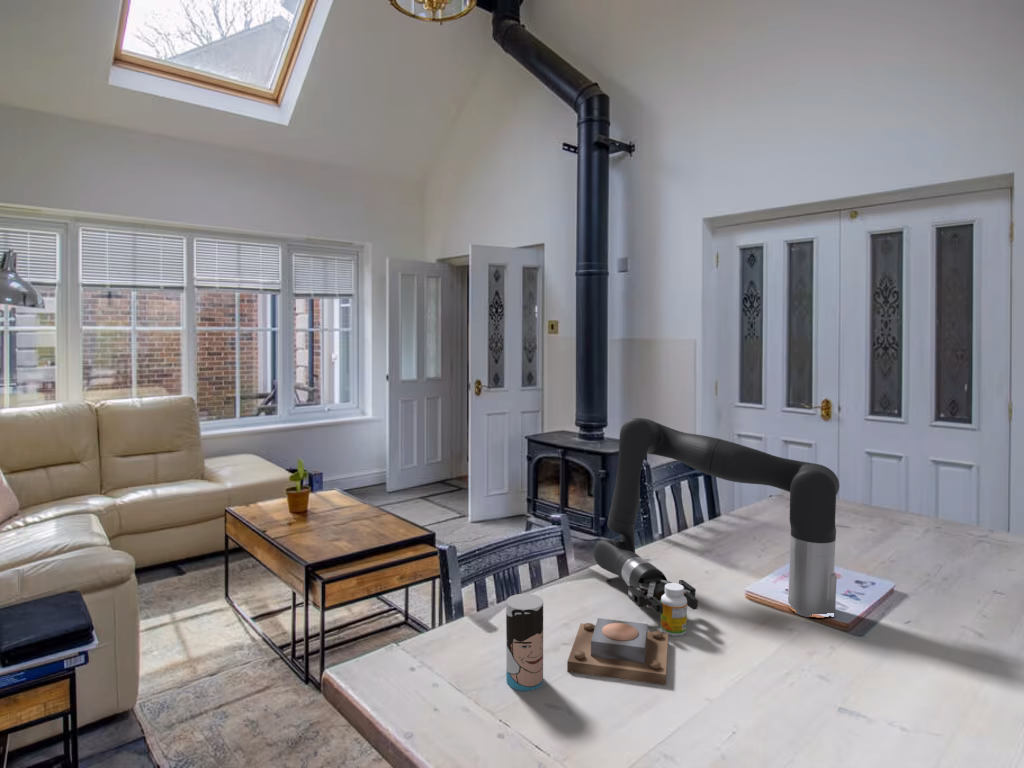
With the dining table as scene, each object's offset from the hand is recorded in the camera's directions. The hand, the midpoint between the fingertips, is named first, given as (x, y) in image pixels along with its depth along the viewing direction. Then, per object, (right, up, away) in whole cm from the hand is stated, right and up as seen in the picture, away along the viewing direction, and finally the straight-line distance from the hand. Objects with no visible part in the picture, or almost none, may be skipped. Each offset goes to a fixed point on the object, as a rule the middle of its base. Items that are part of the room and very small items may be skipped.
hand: (678, 607), depth 133 cm
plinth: (-14, -7, -8) cm, 18 cm away
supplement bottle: (-1, -6, +2) cm, 7 cm away
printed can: (-33, -8, -17) cm, 37 cm away
